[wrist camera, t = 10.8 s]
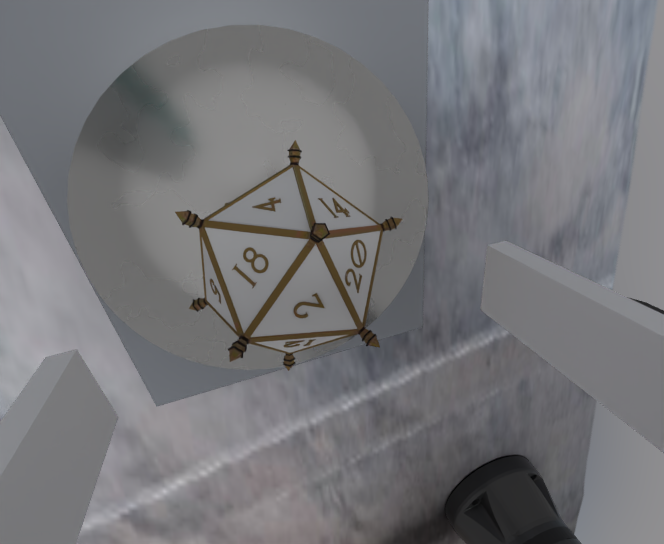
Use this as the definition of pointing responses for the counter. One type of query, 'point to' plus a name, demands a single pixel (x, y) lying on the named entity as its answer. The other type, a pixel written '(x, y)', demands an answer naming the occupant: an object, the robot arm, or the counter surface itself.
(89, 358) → the counter surface
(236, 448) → the counter surface
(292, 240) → the game die
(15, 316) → the counter surface
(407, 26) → the scale
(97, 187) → the pan
